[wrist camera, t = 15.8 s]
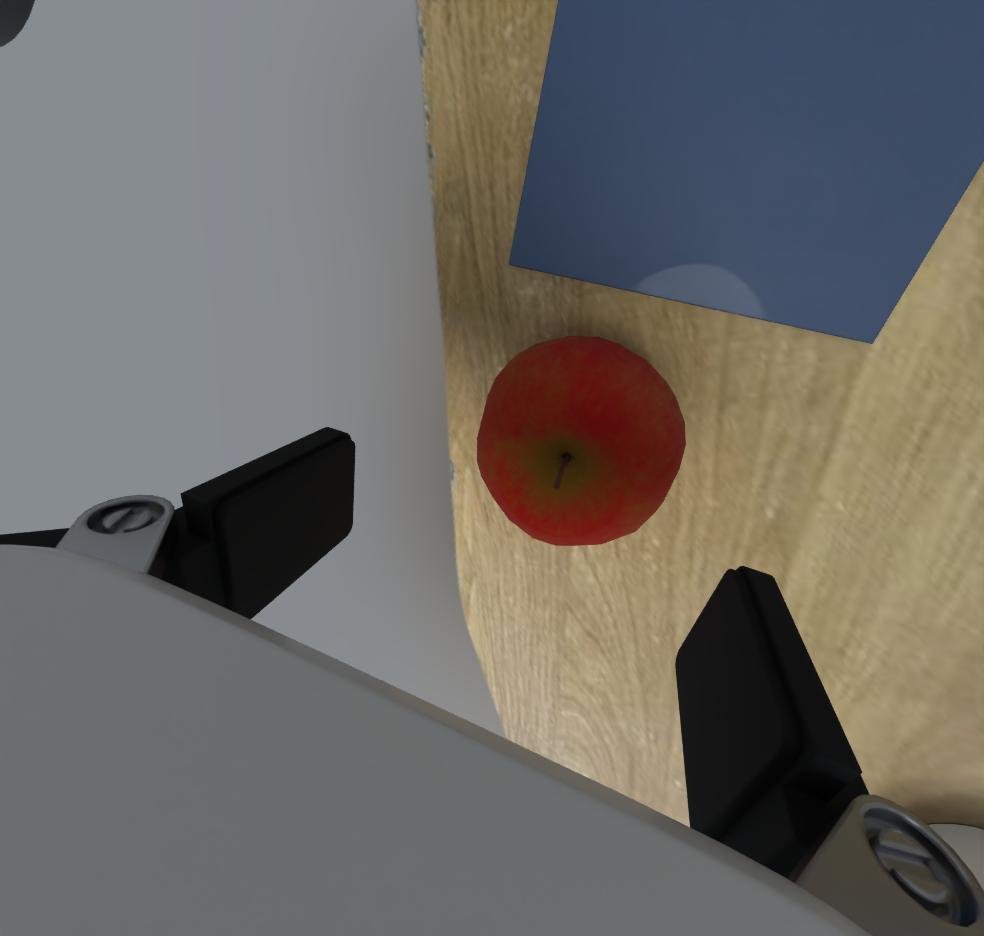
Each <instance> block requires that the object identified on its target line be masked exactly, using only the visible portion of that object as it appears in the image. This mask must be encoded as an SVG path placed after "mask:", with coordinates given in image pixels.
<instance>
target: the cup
mask: <svg viewBox="0 0 984 936" xmlns="http://www.w3.org/2000/svg"><path fill="white" fill-rule="evenodd" d="M928 826H930V827H931V828H932V829H933V830H934V831H935V832H936V833H937V834H938V835H939V836H940V837H941V838H942V839H943V840H944V841H945V842H947V843H948V844H949V845H950V846H951V847H952V848H953V849H954V851H955V852H956V853H957V854H958V856H959V857H960V858H961V859H962V860H963V862H964V863H965V864H966V865H967V867H968V868H969V869H970V870H971V871H972V873H973V874H974V876H975V878H976V879H977V881H978V882H979V884H980V886H981V887H982V889H983V891H984V829H980V828H976V827H972V826H965V825H957V824H931V825H928Z"/></svg>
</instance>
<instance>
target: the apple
mask: <svg viewBox="0 0 984 936" xmlns="http://www.w3.org/2000/svg"><path fill="white" fill-rule="evenodd" d="M685 445H686V441H685V422H684V419H683V416H682V413H681V411H680V408H679V405H678V402H677V399H676V397H675V395H674V394H673V392H672V390H671V389H670V387H669V385H668V384H667V382H666V381H665V380H664V379H663V378H662V377H661V375H660V374H659V373H658V372H657V371H656V370H655V369H654V368H653V367H652V366H651V365H650V364H649V363H648V362H647V361H646V360H645V359H643V358H642V357H640V356H638V355H637V354H635V353H633V352H632V351H630V350H628V349H626V348H625V347H623V346H621V345H620V344H617V343H615V342H612V341H609V340H606V339H603V338H600V337H585V336H567V337H563V338H559V339H555V340H551V341H547V342H543V343H539V344H535V345H533V346H532V347H530V348H528V349H526V350H524V351H523V352H521V353H519V354H517V355H516V356H515V357H514V358H513V359H512V360H511V361H510V362H509V363H508V364H507V365H506V366H505V368H504V369H503V370H502V371H501V372H500V373H499V375H498V376H497V377H496V379H495V381H494V383H493V385H492V387H491V390H490V392H489V394H488V397H487V401H486V405H485V409H484V413H483V417H482V421H481V425H480V429H479V433H478V437H477V462H478V466H479V470H480V473H481V477H482V479H483V480H484V482H485V484H486V486H487V488H488V489H489V491H490V493H491V495H492V496H493V498H494V500H495V501H496V502H497V504H498V505H499V506H500V508H501V509H502V511H503V512H504V513H505V515H506V516H507V517H508V519H509V520H510V521H511V522H513V523H514V524H515V525H517V526H518V527H519V528H521V529H522V530H523V531H524V532H526V533H527V534H528V535H530V536H531V537H532V538H534V539H537V540H540V541H543V542H546V543H549V544H552V545H560V546H576V545H598V544H603V543H606V542H609V541H611V540H614V539H617V538H620V537H622V536H625V535H628V534H630V533H633V532H635V531H637V530H638V529H639V528H640V527H641V526H642V525H643V524H644V523H645V522H646V521H647V520H648V519H649V518H650V517H651V516H652V515H653V514H654V513H655V512H656V511H657V509H658V508H659V507H660V505H661V504H662V503H663V501H664V499H665V497H666V495H667V493H668V491H669V489H670V487H671V485H672V483H673V481H674V479H675V477H676V475H677V473H678V471H679V469H680V465H681V461H682V457H683V453H684V449H685Z"/></svg>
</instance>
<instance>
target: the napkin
mask: <svg viewBox="0 0 984 936" xmlns="http://www.w3.org/2000/svg"><path fill="white" fill-rule="evenodd" d="M983 161H984V0H558V6H557V11H556V16H555V21H554V27H553V32H552V37H551V43H550V48H549V53H548V59H547V64H546V69H545V75H544V80H543V85H542V91H541V96H540V101H539V107H538V112H537V117H536V123H535V128H534V133H533V139H532V144H531V149H530V155H529V160H528V165H527V171H526V176H525V181H524V187H523V192H522V197H521V202H520V208H519V213H518V218H517V224H516V229H515V234H514V240H513V245H512V250H511V256H510V261H509V265H514V266H518V267H523V268H527V269H532V270H536V271H541V272H546V273H550V274H555V275H559V276H564V277H569V278H573V279H578V280H582V281H587V282H591V283H596V284H601V285H605V286H610V287H614V288H619V289H624V290H628V291H633V292H637V293H642V294H646V295H651V296H656V297H660V298H665V299H669V300H674V301H679V302H683V303H688V304H692V305H697V306H702V307H706V308H711V309H715V310H720V311H724V312H729V313H734V314H738V315H743V316H747V317H752V318H757V319H761V320H766V321H770V322H775V323H779V324H784V325H789V326H793V327H798V328H802V329H807V330H812V331H816V332H821V333H825V334H830V335H834V336H839V337H844V338H848V339H853V340H857V341H862V342H867V343H871V344H872V343H873V342H874V341H875V339H876V337H877V336H878V334H879V332H880V331H881V329H882V327H883V326H884V324H885V322H886V321H887V319H888V318H889V316H890V314H891V313H892V311H893V309H894V308H895V306H896V304H897V303H898V301H899V299H900V298H901V296H902V294H903V293H904V291H905V289H906V288H907V286H908V285H909V283H910V281H911V280H912V278H913V276H914V275H915V273H916V271H917V270H918V268H919V266H920V265H921V263H922V261H923V260H924V258H925V257H926V255H927V253H928V252H929V250H930V248H931V247H932V245H933V243H934V242H935V240H936V238H937V237H938V235H939V233H940V232H941V230H942V229H943V227H944V225H945V224H946V222H947V220H948V219H949V217H950V215H951V214H952V212H953V210H954V209H955V207H956V205H957V204H958V202H959V201H960V199H961V197H962V196H963V194H964V192H965V191H966V189H967V187H968V186H969V184H970V182H971V181H972V179H973V177H974V176H975V174H976V173H977V171H978V169H979V168H980V166H981V164H982V163H983Z"/></svg>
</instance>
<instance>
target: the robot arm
mask: <svg viewBox="0 0 984 936" xmlns="http://www.w3.org/2000/svg"><path fill="white" fill-rule="evenodd" d="M354 471H355V443H354V442H353V441H352V440H351V437H350V435H349V434H348V433H345V432H342V431H339V430H336V429H333V428H329V427H325V428H323V429H321V430H318V431H316V432H314V433H312V434H310V435H307V436H305V437H303V438H301V439H299V440H297V441H295V442H292V443H290V444H288V445H286V446H283V447H281V448H279V449H277V450H275V451H273V452H270V453H268V454H266V455H264V456H262V457H259V458H257V459H255V460H253V461H251V462H249V463H246V464H244V465H242V466H240V467H238V468H235V469H233V470H231V471H229V472H227V473H225V474H222V475H220V476H218V477H216V478H214V479H211V480H209V481H207V482H205V483H203V484H201V485H198V486H196V487H194V488H192V489H190V490H187V491H185V492H183V493H181V498H182V503H183V506H182V507H180V508H178V509H176V510H175V509H174V506H173V505H172V504H171V502H170V501H168V500H166V499H165V498H162V497H157V496H153V495H135V496H125V497H120V498H116V499H112V500H108V501H106V502H103V503H100V504H98V505H95V506H94V507H92V508H90V509H88V510H86V511H85V512H84V513H83V514H82V515H80V516H79V517H78V518H77V520H76V521H75V522H74V524H73V525H72V526H71V528H66V529H55V530H45V531H36V532H24V533H14V534H4V535H0V936H984V891H983V889H982V887H981V886H980V884H979V882H978V881H977V879H976V878H975V876H974V874H973V873H972V871H971V870H970V869H969V868H968V867H967V865H966V864H965V863H964V862H963V860H962V859H961V858H960V857H959V856H958V854H957V853H956V852H955V851H954V849H953V848H952V847H951V846H950V845H949V844H948V843H947V842H945V841H944V840H943V839H942V838H941V837H940V836H939V835H938V834H937V833H936V832H935V831H934V830H933V829H932V828H931V827H930V826H928V825H927V824H926V823H924V822H923V821H922V820H921V819H919V818H918V817H917V816H915V815H914V814H913V813H912V812H910V811H908V810H907V809H905V808H903V807H901V806H900V805H898V804H896V803H894V802H893V801H891V800H888V799H885V798H882V797H879V796H876V795H869V792H868V790H867V788H866V786H865V783H864V781H863V779H862V777H861V775H860V774H861V773H862V771H861V768H860V766H859V764H858V762H857V760H856V757H855V755H854V753H853V751H852V749H851V746H850V744H849V742H848V740H847V738H846V735H845V733H844V731H843V729H842V726H841V724H840V722H839V720H838V718H837V715H836V713H835V711H834V709H833V707H832V704H831V702H830V700H829V698H828V696H827V693H826V691H825V689H824V687H823V685H822V682H821V680H820V678H819V676H818V674H817V671H816V669H815V667H814V665H813V663H812V660H811V658H810V656H809V654H808V652H807V649H806V647H805V645H804V643H803V641H802V638H801V636H800V634H799V632H798V629H797V627H796V625H795V623H794V621H793V618H792V616H791V614H790V612H789V610H788V607H787V605H786V603H785V601H784V599H783V596H782V594H781V592H780V590H779V588H778V585H777V583H776V581H775V579H774V578H773V576H771V575H769V574H766V573H763V572H760V571H757V570H754V569H751V568H748V567H745V566H740V567H739V568H737V569H736V570H733V569H729V570H727V571H726V573H725V574H724V576H723V577H722V579H721V581H720V582H719V584H718V586H717V587H716V589H715V591H714V592H713V594H712V596H711V597H710V599H709V601H708V602H707V604H706V606H705V607H704V609H703V611H702V612H701V614H700V616H699V617H698V619H697V621H696V622H695V624H694V626H693V627H692V629H691V631H690V632H689V634H688V636H687V637H686V639H685V641H684V642H683V644H682V646H681V647H680V649H679V651H678V654H677V657H676V663H675V666H676V678H677V689H678V700H679V711H680V722H681V733H682V744H683V755H684V765H685V776H686V787H687V798H688V809H689V820H690V827H688V826H686V825H684V824H682V823H680V822H678V821H676V820H674V819H672V818H669V817H667V816H665V815H663V814H661V813H659V812H657V811H655V810H653V809H651V808H649V807H647V806H645V805H643V804H641V803H639V802H637V801H635V800H633V799H631V798H629V797H627V796H625V795H623V794H621V793H619V792H617V791H615V790H612V789H610V788H608V787H606V786H604V785H602V784H600V783H598V782H596V781H594V780H591V779H589V778H587V777H585V776H583V775H581V774H579V773H577V772H575V771H572V770H570V769H568V768H566V767H564V766H562V765H560V764H558V763H556V762H553V761H551V760H549V759H547V758H545V757H543V756H541V755H539V754H537V753H535V752H532V751H530V750H528V749H526V748H524V747H522V746H520V745H518V744H516V743H513V742H511V741H509V740H507V739H505V738H503V737H501V736H499V735H496V734H494V733H492V732H490V731H488V730H486V729H484V728H482V727H480V726H477V725H476V724H473V723H471V722H469V721H467V720H465V719H463V718H460V717H458V716H456V715H454V714H452V713H450V712H448V711H446V710H444V709H441V708H439V707H437V706H435V705H433V704H431V703H428V702H426V701H424V700H422V699H420V698H418V697H416V696H414V695H411V694H409V693H407V692H405V691H403V690H401V689H398V688H396V687H394V686H392V685H390V684H388V683H386V682H384V681H382V680H379V679H377V678H375V677H373V676H371V675H369V674H367V673H364V672H362V671H360V670H358V669H356V668H354V667H352V666H349V665H347V664H345V663H343V662H341V661H339V660H337V659H334V658H332V657H330V656H328V655H326V654H324V653H322V652H319V651H317V650H315V649H313V648H311V647H308V646H306V645H304V644H302V643H300V642H298V641H296V640H293V639H291V638H289V637H287V636H285V635H283V634H280V633H278V632H276V631H274V630H272V629H269V628H267V627H265V626H263V625H261V624H259V623H256V622H254V621H252V620H250V619H252V618H253V617H254V616H255V615H256V614H257V613H259V612H260V611H261V610H262V609H263V608H264V607H266V606H267V605H268V604H269V603H270V602H271V601H273V600H274V599H275V598H276V597H277V596H278V595H279V594H281V593H282V592H283V591H284V590H285V589H286V588H288V587H289V586H290V585H291V584H292V583H293V582H294V581H296V580H297V579H298V578H299V577H300V576H302V575H303V574H304V573H305V572H306V571H307V570H308V569H310V568H311V567H312V566H313V565H314V564H315V563H317V562H318V561H319V560H320V559H321V558H322V557H324V556H325V555H326V554H327V553H328V552H329V551H330V550H332V549H333V547H335V546H336V545H337V544H339V543H340V542H341V541H342V540H343V539H344V538H346V536H348V534H349V533H350V531H351V529H352V525H353V502H354Z"/></svg>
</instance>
